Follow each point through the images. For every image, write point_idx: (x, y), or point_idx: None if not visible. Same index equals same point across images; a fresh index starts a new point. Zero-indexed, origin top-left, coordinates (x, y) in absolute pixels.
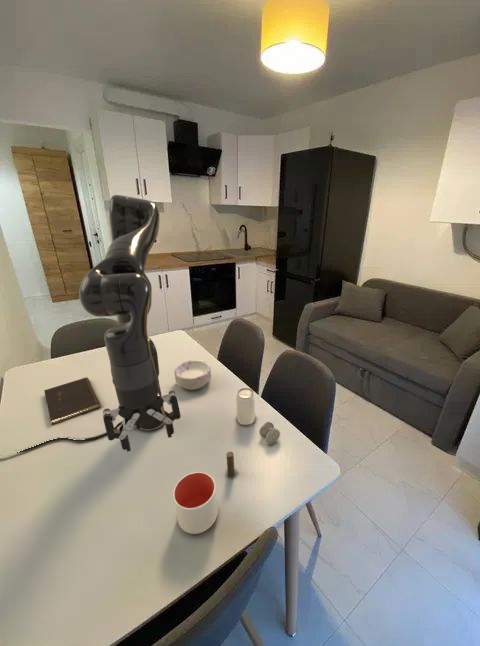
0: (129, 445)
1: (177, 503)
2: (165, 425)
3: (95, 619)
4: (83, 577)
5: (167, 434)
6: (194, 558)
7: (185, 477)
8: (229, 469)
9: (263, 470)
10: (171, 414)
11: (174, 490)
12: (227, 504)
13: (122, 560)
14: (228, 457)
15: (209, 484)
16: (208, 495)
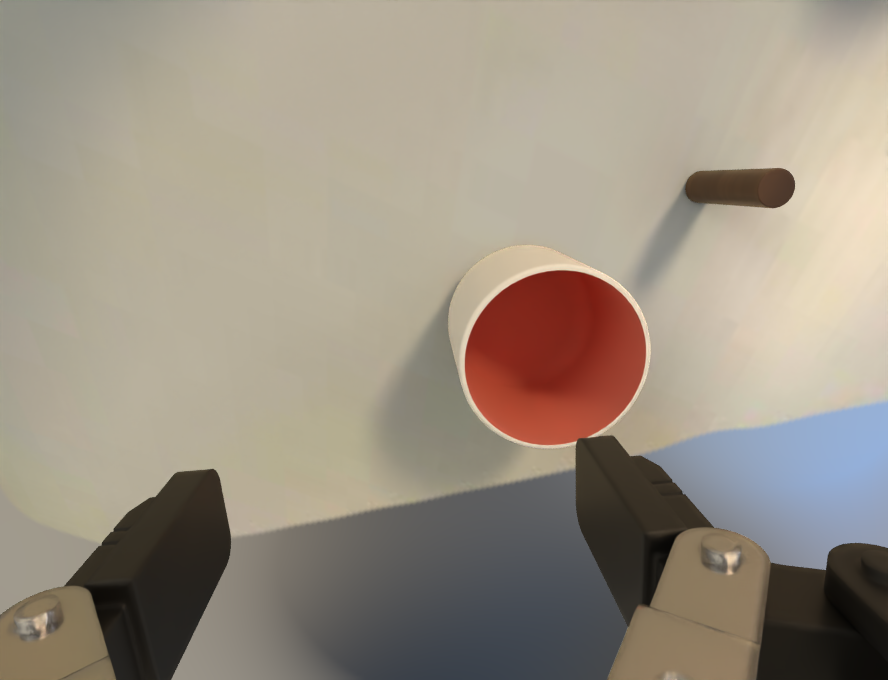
0: (207, 586)
1: (470, 399)
2: (608, 485)
3: None
4: (144, 367)
5: (580, 485)
6: (474, 440)
7: (531, 273)
8: (713, 200)
9: (827, 227)
10: (805, 671)
11: (469, 330)
12: None
13: (259, 363)
14: (759, 202)
15: (614, 300)
16: (582, 276)
